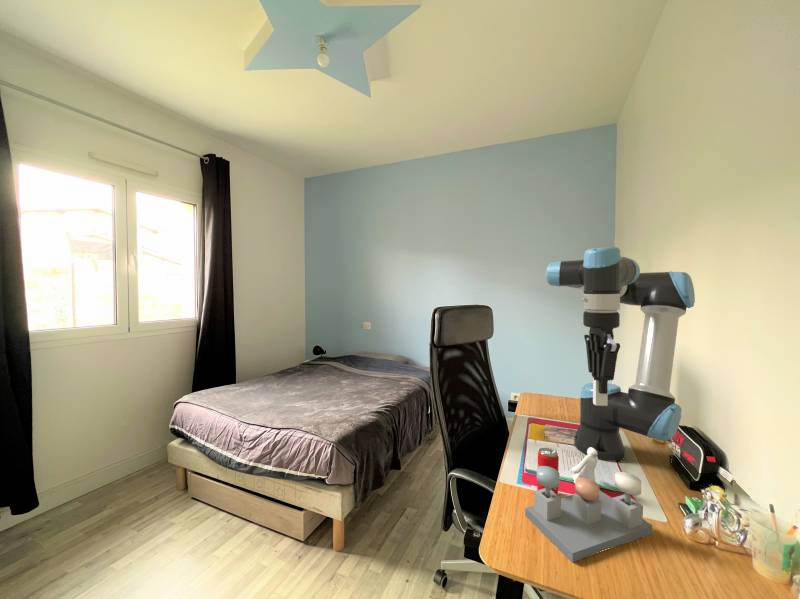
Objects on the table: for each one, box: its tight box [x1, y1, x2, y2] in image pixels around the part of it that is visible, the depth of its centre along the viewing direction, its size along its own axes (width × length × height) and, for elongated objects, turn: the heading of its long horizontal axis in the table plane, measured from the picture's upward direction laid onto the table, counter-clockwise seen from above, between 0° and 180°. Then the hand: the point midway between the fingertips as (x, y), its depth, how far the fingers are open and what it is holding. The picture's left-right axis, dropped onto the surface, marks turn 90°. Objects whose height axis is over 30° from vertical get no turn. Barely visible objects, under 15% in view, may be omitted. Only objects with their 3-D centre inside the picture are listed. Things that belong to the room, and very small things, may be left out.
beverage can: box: [536, 447, 560, 496], centre depth 85 cm, size 5×5×12 cm
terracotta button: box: [574, 477, 600, 502], centre depth 75 cm, size 5×5×7 cm
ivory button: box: [614, 471, 642, 506], centre depth 73 cm, size 5×5×7 cm
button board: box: [524, 488, 653, 563], centre depth 75 cm, size 24×14×6 cm, turn 108°
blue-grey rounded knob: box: [536, 466, 560, 498], centre depth 76 cm, size 5×5×7 cm
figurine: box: [570, 447, 599, 484], centre depth 90 cm, size 8×8×12 cm
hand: (600, 404), depth 78 cm, fingers closed
